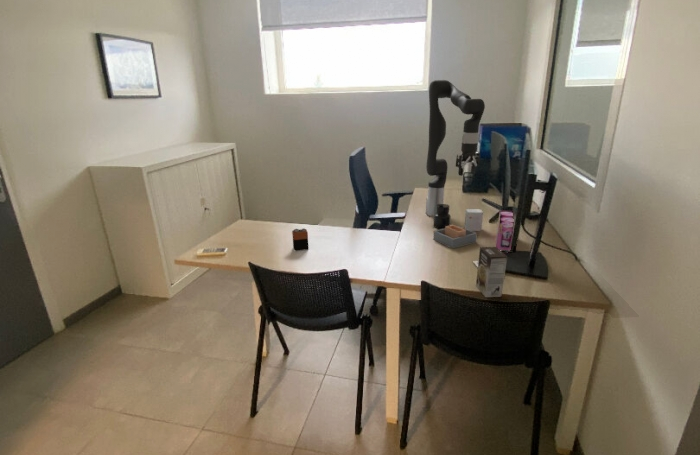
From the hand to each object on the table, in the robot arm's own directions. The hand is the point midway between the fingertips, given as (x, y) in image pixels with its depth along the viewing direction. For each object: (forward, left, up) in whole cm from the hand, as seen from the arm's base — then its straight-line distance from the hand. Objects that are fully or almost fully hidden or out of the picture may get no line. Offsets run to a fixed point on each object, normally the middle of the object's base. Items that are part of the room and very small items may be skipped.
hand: (466, 174), depth 191 cm
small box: (+2, +6, -30) cm, 31 cm away
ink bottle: (-10, -5, -30) cm, 32 cm away
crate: (+9, -14, -30) cm, 34 cm away
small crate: (+9, -14, -30) cm, 34 cm away
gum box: (+24, +4, -30) cm, 39 cm away
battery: (-22, -83, -30) cm, 91 cm away
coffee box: (+52, -39, -30) cm, 72 cm away
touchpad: (+40, -25, -31) cm, 56 cm away
